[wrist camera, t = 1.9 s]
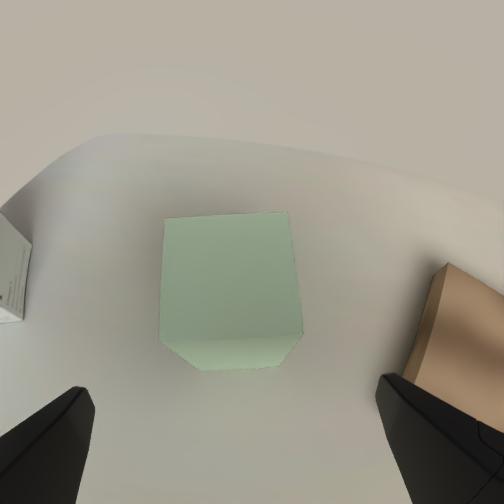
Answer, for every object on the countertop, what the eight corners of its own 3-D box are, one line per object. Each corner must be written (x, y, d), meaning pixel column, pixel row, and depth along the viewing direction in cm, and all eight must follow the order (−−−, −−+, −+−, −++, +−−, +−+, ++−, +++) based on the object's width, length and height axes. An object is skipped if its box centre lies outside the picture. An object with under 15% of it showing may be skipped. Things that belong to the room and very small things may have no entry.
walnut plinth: (491, 456, 15) (511, 457, 13) (383, 419, 17) (399, 420, 15) (523, 329, 20) (541, 321, 18) (432, 275, 22) (448, 262, 20)
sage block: (277, 366, 19) (303, 333, 10) (200, 370, 19) (158, 340, 10) (271, 295, 22) (287, 211, 13) (198, 298, 21) (165, 218, 13)
